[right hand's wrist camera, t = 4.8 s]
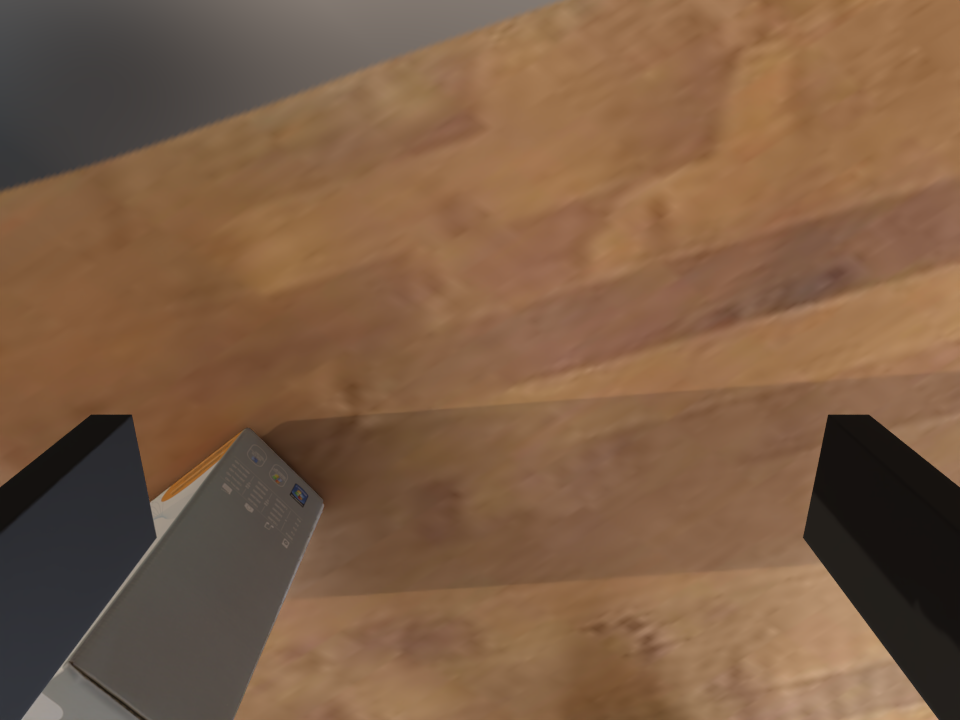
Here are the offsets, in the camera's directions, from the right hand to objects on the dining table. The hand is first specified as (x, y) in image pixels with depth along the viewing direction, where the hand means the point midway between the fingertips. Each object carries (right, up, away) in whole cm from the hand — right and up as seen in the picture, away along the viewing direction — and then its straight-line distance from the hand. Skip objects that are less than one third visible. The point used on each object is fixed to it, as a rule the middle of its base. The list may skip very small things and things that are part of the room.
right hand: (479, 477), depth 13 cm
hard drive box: (-19, -9, +33) cm, 39 cm away
